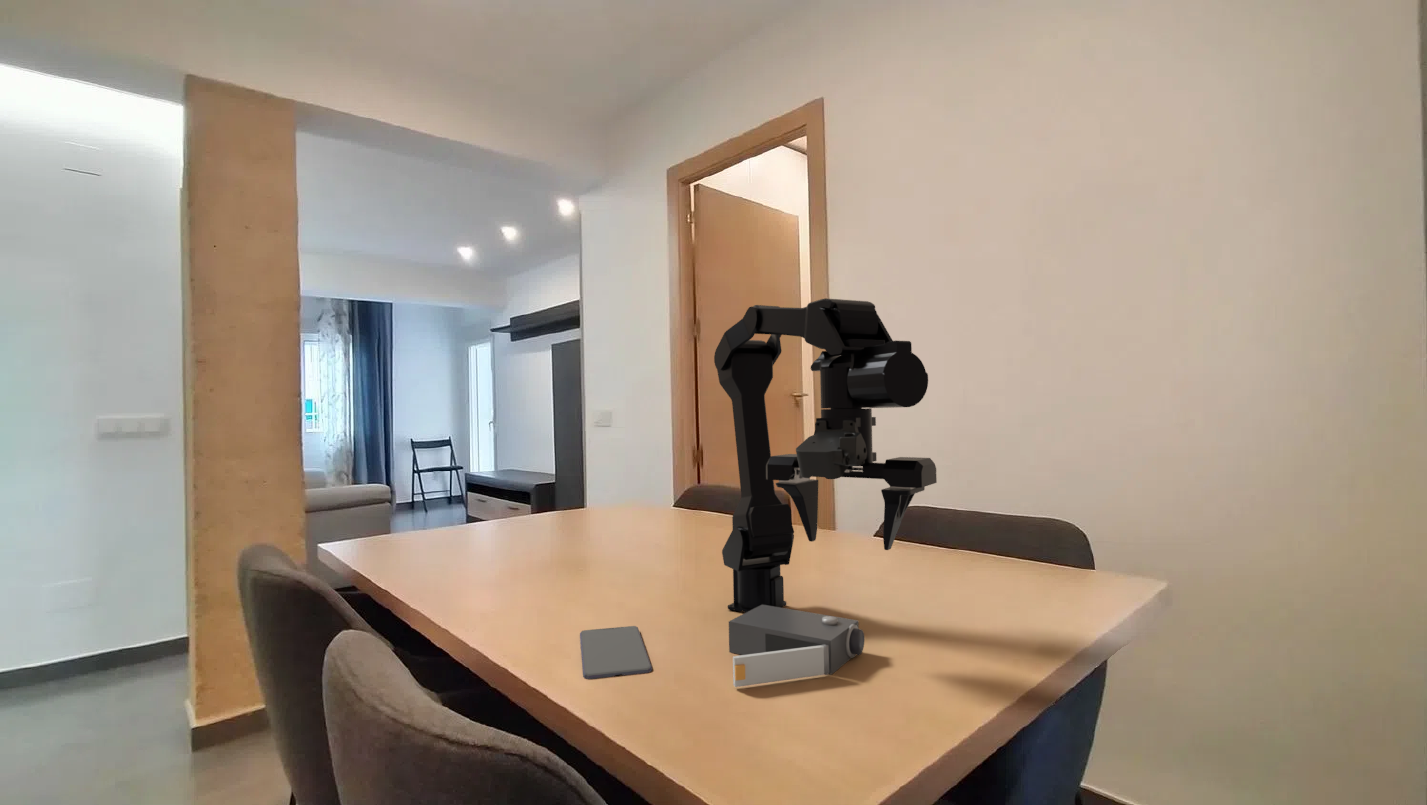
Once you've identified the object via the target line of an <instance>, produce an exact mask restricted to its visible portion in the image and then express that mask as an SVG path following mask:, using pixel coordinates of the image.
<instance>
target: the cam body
mask: <svg viewBox="0 0 1427 805" xmlns="http://www.w3.org/2000/svg"><path fill="white" fill-rule="evenodd" d="M859 625H860V624H859V620H857V619H852V618H845V617H840V616H833V615H827V614H822V613H815V612H811V611H810V612H809V611H803V610H797V609H790V608H786V607H782V608H780V607H774V606H768V605H760V606H758V607H756V608H754V609H752V610H750V611H748V612H743V614H740V615H738V616H737V617H735V618H732V619H731V620H729V621H728V650H729V651H728V653H732V654H736V655H739V656H740V655H748V654H756V653H763V652H771V651H779V650H787V649H795V648H803V647H811V646H818V645H824V644H825V645H828V649H829V674H828V675H830V676H831V675H833V674H834V673H835V672H837V671H838V670H839V669H840V668H841V667H843V666H844V664H846V663H847V662H848V661H850V660H851V659H853V658H855V657H856V656H860V655H862V653H863V651H864V647H865V632H864V631H863V629H861V628H859V627H860V626H859Z"/></svg>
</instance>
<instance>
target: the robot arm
mask: <svg viewBox="0 0 1427 805" xmlns="http://www.w3.org/2000/svg"><path fill="white" fill-rule="evenodd" d="M755 335H770V336H769V338H768V339H767V341H765V340H762V339H761V340H757V339H752V338H754V336H755ZM782 336H791V337H800V338H803V339H804V341H805V342H806V344H809V345H811V346H812V347H815V348H818V349H819V350H820V349H821V350H822V351H821V352H820V354H819V356H818V357H817V358H816V359H815V360H814V361H813V362H812V363H811V365H810V371H811V372H819V374H820V375H819V378H820V380H819V382H820V385H819V386H820V387H819V388H820V417H815V423H814V432H813V435H810V436H808V437H807V438H806V439H805V440H804V441H803V442H802V443H800V444H799V445H798V446H797V447H796V448H795V453H786V454H776V455H772V454H771V443H770V434H769V426H768V418H767V415H768V414H767V409H766V408H767V407H766V406H767V405H766V399H765V398H766V395H765V394H766V393H767V390H768V389H769V387H770V384H771V383H772V381H773V378H774V365H775V363H776V362H777V360H778V359H779V357H780V355H781V354H782V344H781V337H782ZM912 349H913V348H912V341H911V340H910V341H909V340H893V339H892V337H891V335H890V333H889V332H888V330H887V328H886V326H885V324H884V323H883V321H882V320H881V318H880V316H879V314H878V312H877V310H876V305H875V304H874V303H873V302H871V301H867V300H852V299H841V298H840V299H837V298H828V297H827V298H821V299H818V300H815V301H810V302H809V303H808V304H807V305H806V306H804V307H780V306H778V305H762V304H754V305H753V306H749V307H748V308H747V309H746V312H745V313H744V315H743V317H742V318H741V319H740V320H739V321H737V322H735V324H733V325H732V326H731V327H729V328H728V329H727V330H726V331H724V333H723V335H722V337H721V339H720V341H719V343H718V345H717V346H716V349H715V350H714V356H713V357H714V358H713V362H714V367H715V369H716V371H717V377H718V382H719V384H720V386H721V387H722V389H723V391H725V393H726V394H727V396H728V397H729V398H730V400H731V405H732V414H733V423H734V424H733V426H734V436H735V445H736V454H737V456H736V457H737V466H738V476H739V485H740V487H739V488H740V499H739V501H738V503H737V506H736V507H735V510H734V511H733V514H732V518H731V519H732V521H731V522H732V530H731V532H730V534H729V536H728V538H727V540H726V542H725V544H724V546H723V547H722V550H721V555H722V560H723V565H724V566H726V567H727V568H730V569H731V570H732V582H733V584H732V585H733V586H732V587H733V603H730V604H728V605H727V609H728V610H729V611H730V610H731V611H737V612H742V613H746V612H748V611H750V610H752V609H754V608H756V607H758V606H760V605H768V606H774V607H780V608H784V607H785V606H787V600H785V596H784V595H785V594H784V592H785V591H784V587H785V586H784V576H783V575H781V566H782V565H785V566H787V565H790V562H791V557H792V556H791V555H792V550H793V545H794V539H795V535H794V533H795V531H794V526H793V521H792V509H791V507H790V505H789V504H788V503H783V502H782V500H781V499H780V498H779V497H778V495H777V494H776V490H775V485H776V487H777V488H779V489H780V488H781V489H783V490H784V491H785V492H786V493H787V494H788V495H789V496H790V498H791V499H792V502H793V504H794V505H795V508H796V510H797V513H798V515H799V518H800V521H801V524H802V525H803V528H804V531H805V534H806V536H807V539H808V541H809V542H815V541H816V539H817V534H818V517H819V516H818V513H819V511H818V510H819V509H818V508H819V479H811V478H812V477H814V478H825V479H826V480H836V479H840V478H854V479H855V478H856V479H874V480H875V479H877V480H884V481H885V482H886V483H887V484H888V485H889V487H886V488H882V489H881V490H880V491H881V495H882V499H883V503H884V510H883V511H884V512H883V532H882V538H883V549H884V551H889V550H891V549H892V547H893V544H894V542H895V538H896V536H897V534H898V530H899V529H900V526H901V523H902V521H903V519H904V516H905V513H906V511H907V509H908V507H909V505H910V504H911V501H912V500H913V498H914V496H915V494H918V493H921V492H924V491H925V487H928V486H931V485H934V484H937V467H936V464H935V462H934V461H933V460H932V459H931V457H913V456H912V457H910V456H908V457H907V456H899V457H893V458H888V459H885V462H877V451H876V452H875V451H873V427H874V426H877V422H876V421H877V420H876V418H877V417H876V416H873V415H872V413H873V409H880V408H881V409H883V408H884V409H885V408H887V409H888V408H891V409H892V408H910V407H911V408H912V407H914V406H916V405H917V404H919V403H920V402H921V401H922V400H923V399H924V397H925V395H926V393H927V389H928V387H929V386H928V385H929V374H928V373H927V371H926V368H925V365H924V363H923V362H922V360H921V359H920V358H919V357H918V356H917V355H916V354H915V353H914V352H913V350H912ZM775 481H778V482H775Z"/></svg>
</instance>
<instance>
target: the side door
mask: <svg viewBox="0 0 1427 805" xmlns="http://www.w3.org/2000/svg"><path fill="white" fill-rule="evenodd" d="M732 675H733V676H732V682H733V687H734V688H739V687H746V686H752V685H760V684H768V683H776V682H780V681H781V682H782V681H787V680H795V679H796V680H797V679H802V678H810V677H817V676H823V675H826V676H827V675H830V674H829V649H828V645H825V644H824V645H818V646H811V647H803V648H795V649H787V650H779V651H771V652H763V653H756V654H748V655H740V654H739V655H733V656H732Z"/></svg>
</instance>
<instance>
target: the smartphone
mask: <svg viewBox="0 0 1427 805" xmlns="http://www.w3.org/2000/svg"><path fill="white" fill-rule="evenodd" d="M579 639H580V640H579V641H580V644H579V645H580V652H581V653H580V655H581V664H582V668H581V669H582V677H583V678H584V679H585V680H597V679H606V678H612V677H613V678H614V677H615V676H619V675H622V677H623V676H631V675H632V676H633V675H641V674H649V673H651V672H652V670H653V667H652V664H651V661H650V658H649V656H648V652H647V649H646V646H645V644H644V641H643V638H642V635H641V633H640V630H639V627H638V626H636V625H631V626H619V627H618V626H617V627H616V626H615V627H605V628H596V629H584V630H581V631H580V633H579Z"/></svg>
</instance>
